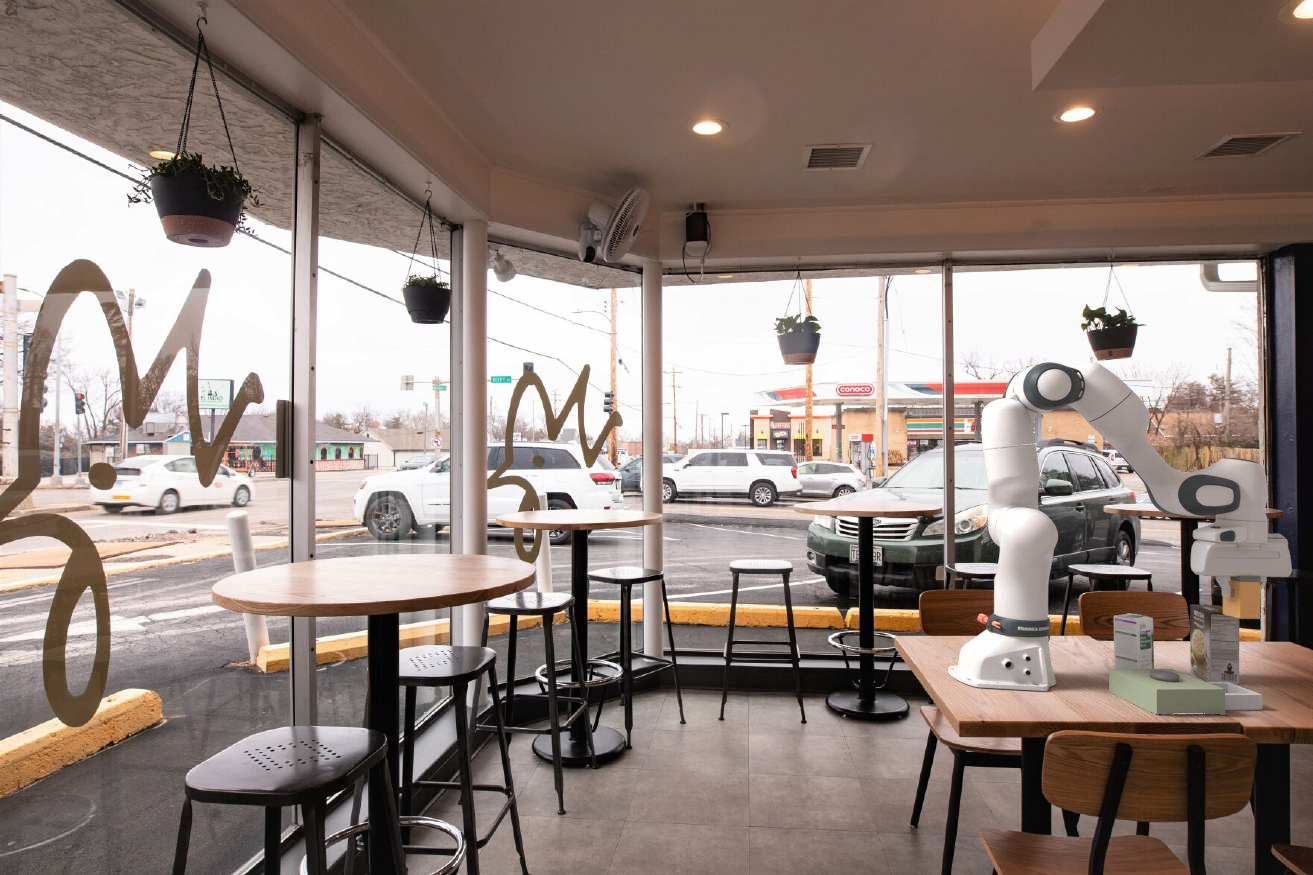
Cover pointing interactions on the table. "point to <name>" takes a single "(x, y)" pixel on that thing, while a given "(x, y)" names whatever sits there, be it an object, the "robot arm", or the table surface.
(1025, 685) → the robot arm
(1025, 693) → the table surface
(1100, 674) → the table surface
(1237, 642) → the coffee box
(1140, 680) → the knobbed slab with frame
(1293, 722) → the table surface
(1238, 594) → the orange and grey block
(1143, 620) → the syrup box
